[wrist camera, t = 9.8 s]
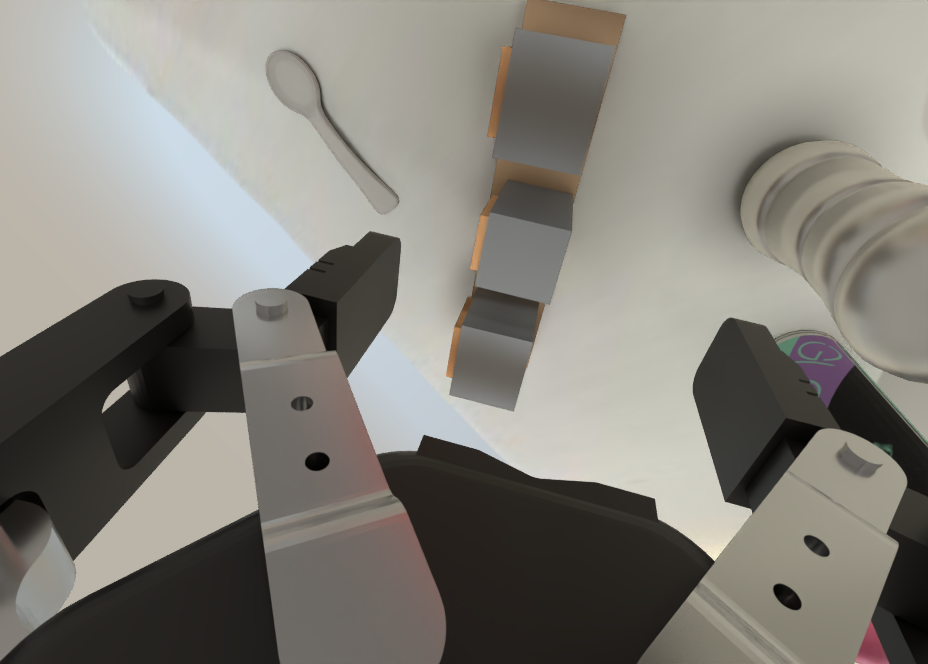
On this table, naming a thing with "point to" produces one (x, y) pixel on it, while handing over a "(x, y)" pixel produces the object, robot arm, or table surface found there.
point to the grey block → (523, 241)
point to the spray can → (859, 402)
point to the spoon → (323, 123)
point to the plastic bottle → (850, 245)
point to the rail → (533, 173)
